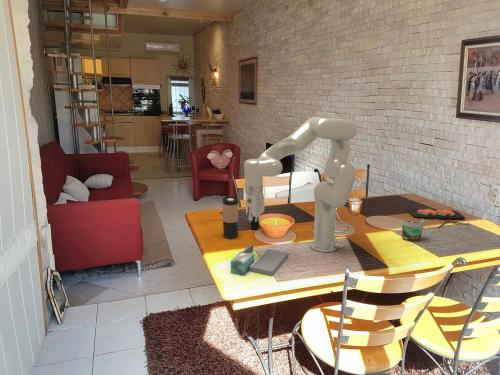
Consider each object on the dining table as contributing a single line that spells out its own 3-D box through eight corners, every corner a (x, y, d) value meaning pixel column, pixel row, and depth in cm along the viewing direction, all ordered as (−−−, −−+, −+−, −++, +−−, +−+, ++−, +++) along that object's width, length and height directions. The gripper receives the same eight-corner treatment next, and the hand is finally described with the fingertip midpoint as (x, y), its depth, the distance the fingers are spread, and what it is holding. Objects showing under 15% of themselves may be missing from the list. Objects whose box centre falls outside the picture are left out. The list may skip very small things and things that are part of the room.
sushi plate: (455, 213, 231) (456, 207, 230) (479, 231, 202) (480, 224, 201) (406, 211, 234) (407, 205, 233) (422, 228, 205) (423, 222, 204)
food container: (407, 243, 184) (409, 224, 181) (399, 239, 189) (401, 220, 187) (428, 241, 187) (431, 222, 184) (420, 236, 193) (422, 218, 190)
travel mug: (230, 232, 197) (229, 195, 192) (241, 236, 193) (241, 198, 188) (220, 236, 192) (219, 198, 187) (231, 240, 187) (230, 201, 182)
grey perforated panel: (287, 256, 169) (288, 250, 168) (272, 276, 151) (272, 269, 151) (250, 249, 176) (250, 243, 175) (231, 267, 158) (231, 261, 158)
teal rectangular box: (254, 264, 161) (254, 253, 159) (244, 274, 152) (244, 263, 150) (241, 262, 163) (241, 251, 162) (230, 272, 154) (230, 260, 153)
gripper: (255, 194, 151) (256, 237, 156) (268, 185, 164) (269, 224, 169) (238, 192, 154) (239, 234, 159) (252, 183, 167) (254, 222, 172)
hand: (255, 229), depth 164 cm, fingers closed
